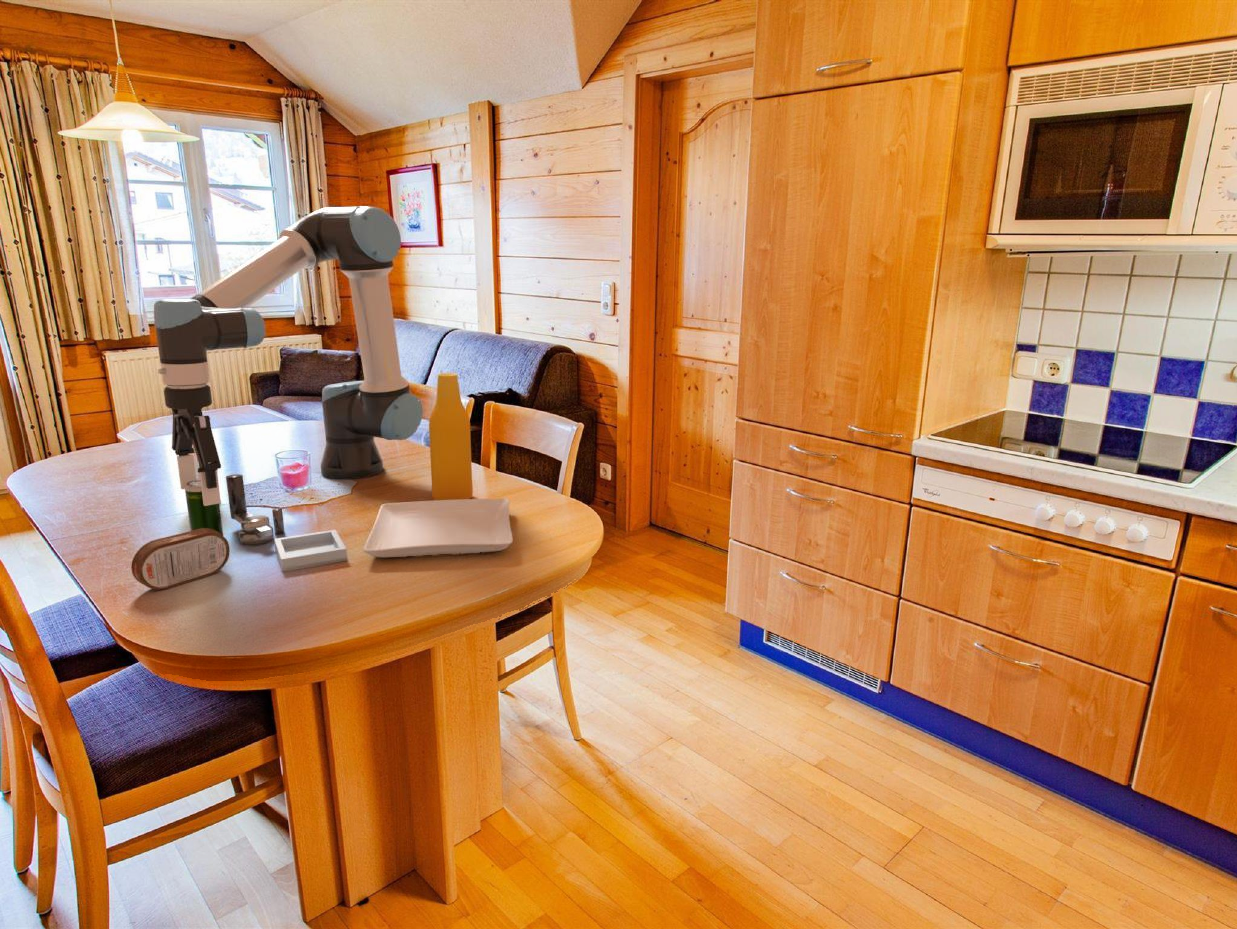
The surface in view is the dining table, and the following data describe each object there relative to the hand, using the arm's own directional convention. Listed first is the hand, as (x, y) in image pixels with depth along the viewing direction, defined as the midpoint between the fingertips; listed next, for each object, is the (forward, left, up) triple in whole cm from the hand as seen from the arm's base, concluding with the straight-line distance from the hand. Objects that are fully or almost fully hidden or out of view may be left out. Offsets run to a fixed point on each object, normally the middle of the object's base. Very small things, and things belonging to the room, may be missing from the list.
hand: (200, 495), depth 143 cm
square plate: (-42, +17, -10) cm, 46 cm away
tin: (+4, +18, -10) cm, 21 cm away
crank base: (-4, +3, -9) cm, 11 cm away
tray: (-17, +16, -9) cm, 25 cm away
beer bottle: (-51, -5, -10) cm, 52 cm away
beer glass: (-1, -25, -10) cm, 27 cm away
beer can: (0, 0, -10) cm, 10 cm away
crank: (-8, +1, -7) cm, 11 cm away
